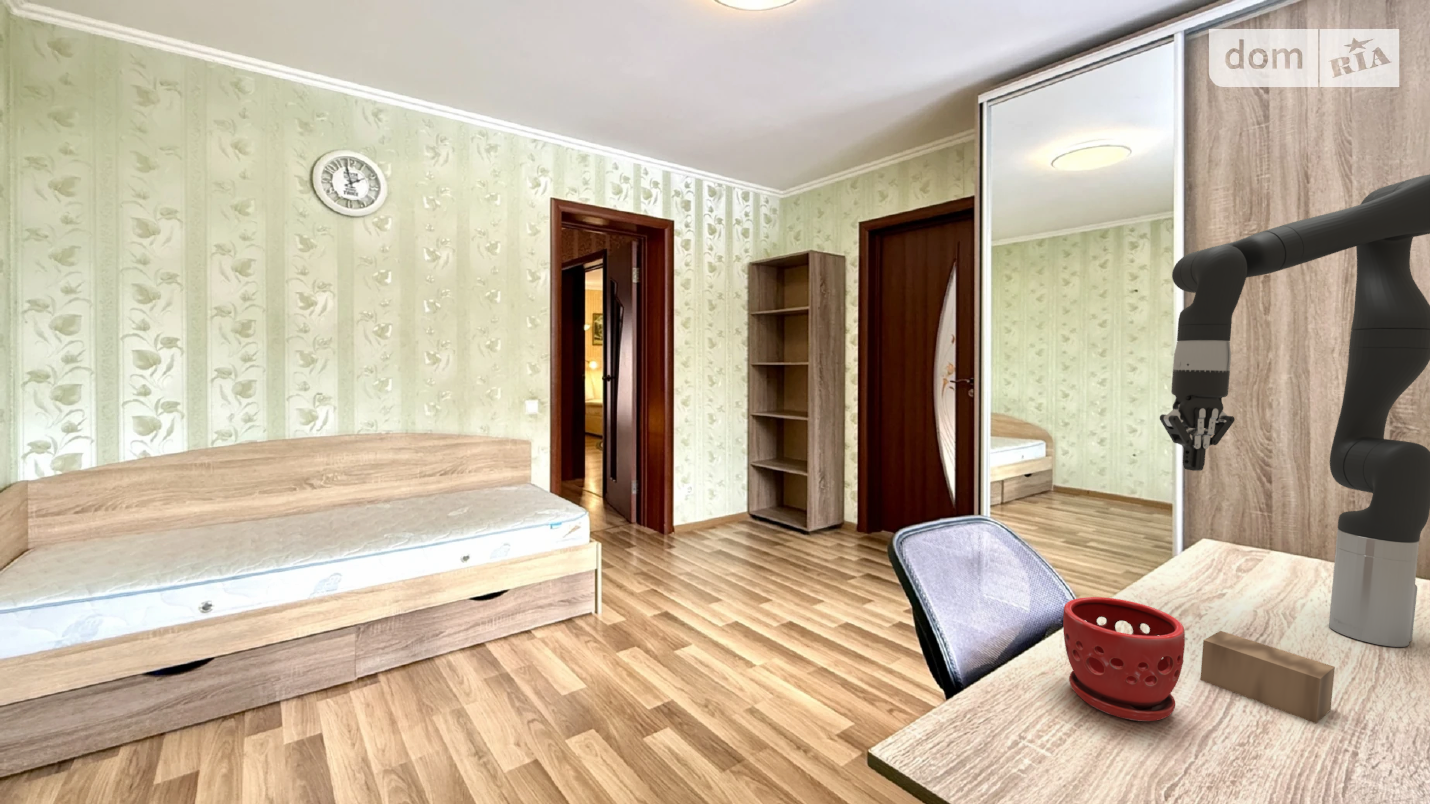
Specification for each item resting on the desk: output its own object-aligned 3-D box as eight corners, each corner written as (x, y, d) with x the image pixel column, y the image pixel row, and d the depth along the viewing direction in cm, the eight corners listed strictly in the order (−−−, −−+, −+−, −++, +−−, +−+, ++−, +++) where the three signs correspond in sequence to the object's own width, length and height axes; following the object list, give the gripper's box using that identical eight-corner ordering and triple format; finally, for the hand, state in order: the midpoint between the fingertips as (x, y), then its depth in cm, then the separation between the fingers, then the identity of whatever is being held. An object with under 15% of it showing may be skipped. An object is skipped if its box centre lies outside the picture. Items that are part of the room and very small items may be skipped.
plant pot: (1088, 667, 89) (1094, 587, 88) (1196, 712, 77) (1204, 621, 77) (1039, 692, 82) (1044, 605, 81) (1150, 745, 70) (1157, 645, 70)
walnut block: (1220, 630, 89) (1334, 666, 78) (1217, 670, 89) (1330, 711, 79) (1203, 640, 85) (1320, 678, 75) (1200, 680, 86) (1315, 724, 76)
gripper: (1188, 367, 97) (1180, 474, 98) (1256, 369, 99) (1248, 473, 100) (1147, 367, 104) (1140, 466, 105) (1212, 368, 106) (1204, 465, 108)
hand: (1193, 469), depth 103 cm, fingers closed
